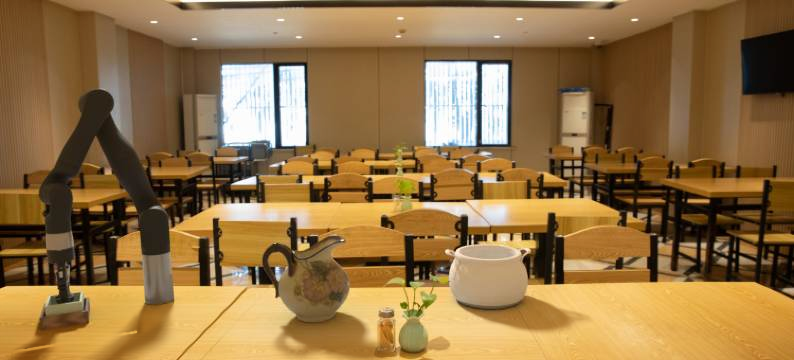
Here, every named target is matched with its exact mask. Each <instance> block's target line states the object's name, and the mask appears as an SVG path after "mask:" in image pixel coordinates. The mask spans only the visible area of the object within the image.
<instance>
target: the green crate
mask: <svg viewBox="0 0 794 360" xmlns="http://www.w3.org/2000/svg"><path fill="white" fill-rule="evenodd" d="M71 293H72V294H75V297H74V301H73V302H71V303H64V304H57V303H56V300H55V299H54V298H55V297H56V296H58V294H59V293H58V294H52V295H48V296H47V298H46V299H47V300H46V302H45V303H46V305H45V314H46V316H52V315H59V314H66V313H72V312H79V311H85V305H84V298H85V297H84V294H85V293H84V291H83V290H82V291H80V290H79V291H74V292H71Z"/></svg>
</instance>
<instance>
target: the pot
mask: <svg viewBox="0 0 794 360" xmlns="http://www.w3.org/2000/svg"><path fill="white" fill-rule="evenodd" d="M523 250H524V251H526V252H525V253H523V254H522V252H521V251H523ZM531 252H532V250H531V249H530V248H529V247H522V248H515V247H512V246H508V245H501V244H490V243H489V244H488V243H487V244H486V243H485V244H484V243H482V244H481V243H480V244H470V245H465V246H464V245H463V246H461V247H459V248H457V249H456V250H455V251H454V250H451V249H448V248H447V249H445V253H444V254H446V255H447V256H451V257H454V259H453V261H452V263H451V264H450V269H449V275H448V281H450V282H448V284H449V288H450V292H451V294H452V296H453V297H454V298H455V300H457V302H459V303H460V304H462V305H464V306H468V307H470V308H471V307H472V308H475V309H476V308H477V309H485V310H496V309H497V310H500V309H506V308H510V307H513V306H515V305H518V304H519V303H520V302H521V301H522V300H523V299H524V297H525V295H526V293H527V289H528V283H529V282H528V281H529V279H528V272H527V267H526V266H525V264H524V263H523V260H524V257H525V256H527V255H528V254H530V253H531Z"/></svg>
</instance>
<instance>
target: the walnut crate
mask: <svg viewBox="0 0 794 360" xmlns="http://www.w3.org/2000/svg"><path fill="white" fill-rule="evenodd" d="M45 305H46V302H45V303H43V306H42V308H41V312H40V315H39V327H40V331H44V330H49V329H55V328H56V329H57V328H62V327H69V326H77V325H81V324H82V325H83V324H89V322H90V316H91V315H90V314H91V313H90V312H91V303H90V296H89V297H84V305H85V311H79V312H72V313H66V314H59V315H52V316H46V314H45Z"/></svg>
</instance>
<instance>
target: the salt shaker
mask: <svg viewBox="0 0 794 360" xmlns="http://www.w3.org/2000/svg"><path fill="white" fill-rule="evenodd" d="M62 285H65V283H64V282H63V283H60V286H62ZM67 285H68V301H64V302H61V301H60V293H59V292H58V296H56V297H55V298H54V299H55V300H56V303H57V304H64V303H71V302H73V301H74V297H75V294H72V292H71V290H70V285H71V283H70V281H69V282H67ZM56 287H58V285H56Z"/></svg>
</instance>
